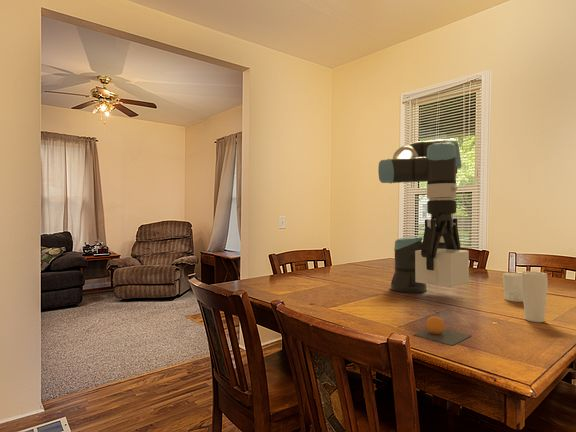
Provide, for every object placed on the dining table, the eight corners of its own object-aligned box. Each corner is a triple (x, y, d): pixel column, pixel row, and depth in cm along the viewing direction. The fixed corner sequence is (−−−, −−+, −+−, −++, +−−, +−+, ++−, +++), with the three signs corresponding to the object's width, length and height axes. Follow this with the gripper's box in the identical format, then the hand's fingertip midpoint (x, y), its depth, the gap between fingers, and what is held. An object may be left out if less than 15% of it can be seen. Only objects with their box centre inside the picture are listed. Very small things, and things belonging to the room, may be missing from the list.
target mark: (413, 335, 104) (413, 334, 104) (433, 327, 111) (433, 326, 111) (452, 345, 95) (452, 345, 95) (471, 336, 102) (471, 335, 102)
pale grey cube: (415, 282, 103) (415, 250, 103) (434, 277, 110) (433, 248, 110) (451, 287, 96) (450, 253, 95) (468, 282, 102) (468, 250, 102)
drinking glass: (516, 317, 119) (516, 271, 119) (536, 317, 120) (536, 270, 120) (532, 324, 112) (532, 275, 112) (553, 323, 113) (553, 274, 113)
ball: (442, 330, 100) (430, 339, 103) (451, 326, 103) (440, 336, 106) (430, 314, 103) (418, 324, 105) (439, 311, 106) (428, 321, 109)
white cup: (530, 302, 138) (530, 276, 138) (507, 302, 140) (507, 275, 140) (521, 297, 146) (521, 272, 146) (499, 297, 148) (499, 272, 147)
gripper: (433, 198, 92) (433, 287, 93) (473, 199, 107) (474, 276, 107) (406, 199, 98) (407, 282, 98) (448, 200, 113) (448, 273, 113)
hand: (442, 279), depth 103 cm, fingers closed on pale grey cube, 10 cm apart
